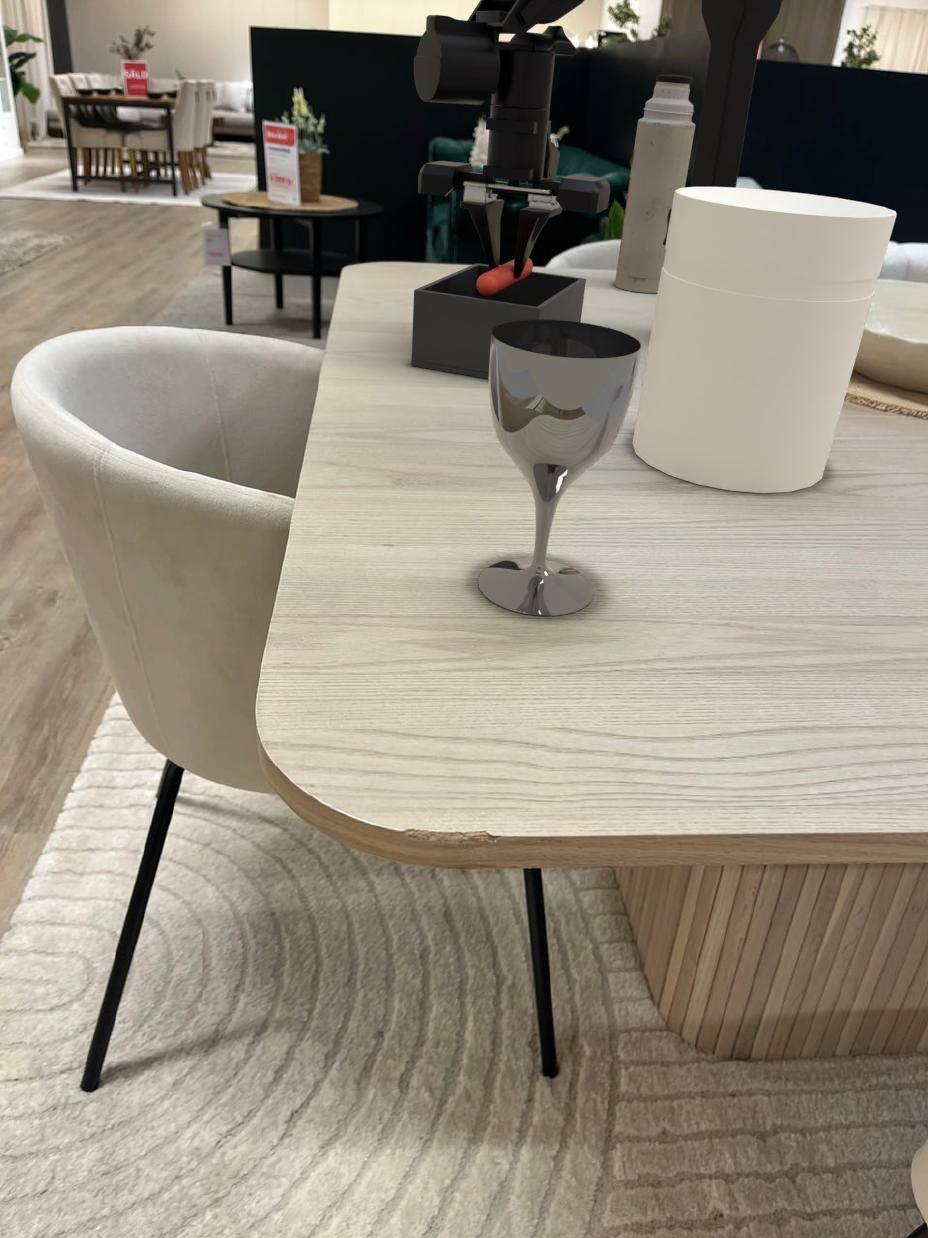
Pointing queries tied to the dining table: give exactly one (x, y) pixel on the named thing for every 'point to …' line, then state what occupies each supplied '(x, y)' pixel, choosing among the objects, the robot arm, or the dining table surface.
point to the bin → (483, 316)
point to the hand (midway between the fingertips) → (506, 276)
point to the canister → (756, 334)
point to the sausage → (501, 278)
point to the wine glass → (554, 438)
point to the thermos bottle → (655, 182)
